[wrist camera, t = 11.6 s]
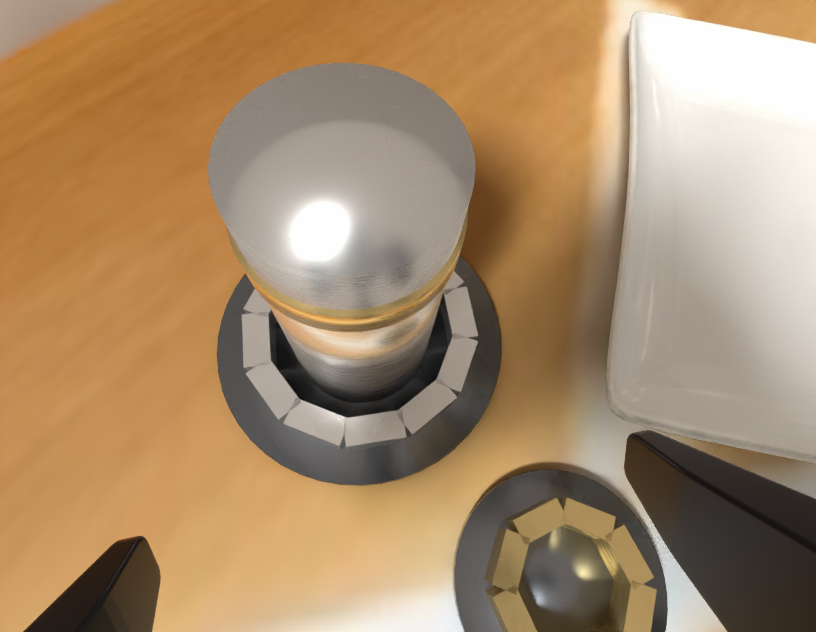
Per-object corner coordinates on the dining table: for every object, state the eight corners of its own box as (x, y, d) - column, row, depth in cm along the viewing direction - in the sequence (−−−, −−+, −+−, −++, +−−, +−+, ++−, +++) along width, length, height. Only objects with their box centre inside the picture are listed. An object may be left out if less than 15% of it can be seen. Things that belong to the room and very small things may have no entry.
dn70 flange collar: (529, 273, 26) (540, 254, 24) (447, 535, 21) (454, 537, 19) (297, 190, 27) (291, 167, 25) (164, 418, 22) (144, 409, 20)
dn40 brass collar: (674, 514, 22) (702, 514, 20) (641, 751, 18) (671, 778, 16) (487, 441, 22) (497, 435, 20) (422, 655, 19) (427, 670, 17)
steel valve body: (456, 340, 24) (537, 164, 12) (358, 436, 22) (333, 343, 10) (365, 255, 25) (352, 24, 13) (265, 337, 23) (143, 150, 11)
